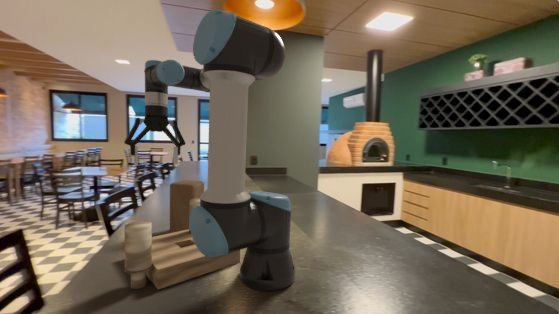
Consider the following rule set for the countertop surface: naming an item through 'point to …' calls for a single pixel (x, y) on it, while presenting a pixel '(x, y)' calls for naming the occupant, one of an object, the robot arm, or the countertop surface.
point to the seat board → (183, 257)
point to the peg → (138, 251)
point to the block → (182, 202)
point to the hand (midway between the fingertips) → (156, 164)
